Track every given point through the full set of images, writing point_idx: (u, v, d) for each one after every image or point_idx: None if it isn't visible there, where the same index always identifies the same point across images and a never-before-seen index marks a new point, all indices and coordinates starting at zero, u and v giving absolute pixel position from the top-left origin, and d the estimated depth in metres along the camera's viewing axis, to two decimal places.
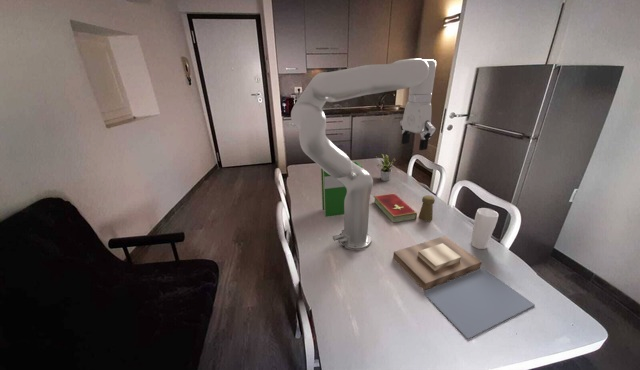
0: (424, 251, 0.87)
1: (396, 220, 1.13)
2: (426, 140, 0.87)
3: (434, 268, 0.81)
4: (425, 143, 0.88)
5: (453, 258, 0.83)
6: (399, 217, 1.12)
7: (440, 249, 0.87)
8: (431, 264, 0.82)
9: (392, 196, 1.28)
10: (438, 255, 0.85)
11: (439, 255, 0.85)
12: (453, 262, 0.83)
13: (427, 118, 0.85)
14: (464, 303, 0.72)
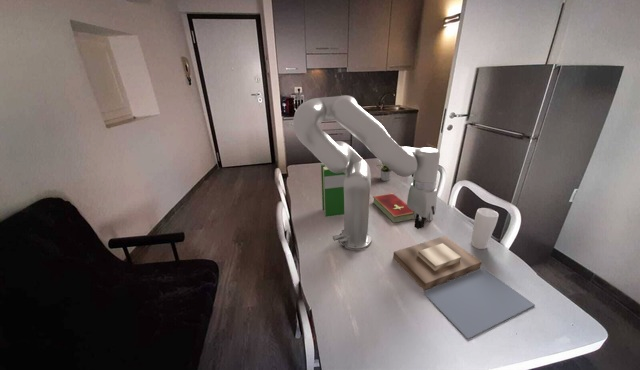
0: (424, 251, 0.87)
1: (396, 220, 1.13)
2: (423, 221, 0.91)
3: (434, 268, 0.81)
4: (422, 223, 0.91)
5: (453, 258, 0.83)
6: (400, 217, 1.12)
7: (440, 249, 0.87)
8: (431, 264, 0.82)
9: (391, 196, 1.28)
10: (438, 255, 0.85)
11: (439, 255, 0.85)
12: (453, 262, 0.83)
13: (432, 204, 0.84)
14: (464, 303, 0.72)
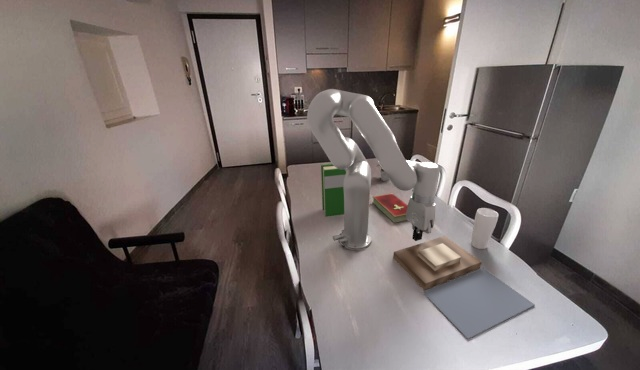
0: (424, 251, 0.87)
1: (397, 220, 1.12)
2: (421, 233, 0.92)
3: (434, 268, 0.81)
4: (420, 235, 0.93)
5: (453, 258, 0.83)
6: (400, 217, 1.12)
7: (440, 249, 0.87)
8: (431, 264, 0.82)
9: (391, 196, 1.28)
10: (438, 255, 0.85)
11: (439, 255, 0.85)
12: (453, 262, 0.83)
13: (431, 218, 0.86)
14: (464, 303, 0.72)
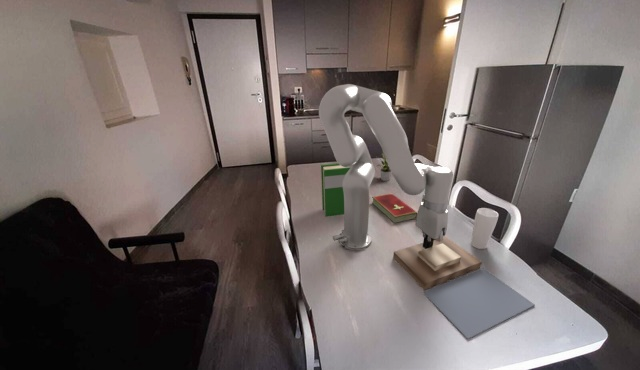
0: (424, 251, 0.87)
1: (397, 220, 1.12)
2: (432, 241, 0.88)
3: (434, 268, 0.81)
4: (431, 244, 0.88)
5: (453, 258, 0.83)
6: (400, 217, 1.12)
7: (440, 249, 0.87)
8: (431, 264, 0.82)
9: (390, 196, 1.28)
10: (438, 255, 0.85)
11: (439, 255, 0.85)
12: (453, 262, 0.83)
13: (443, 226, 0.81)
14: (464, 303, 0.72)
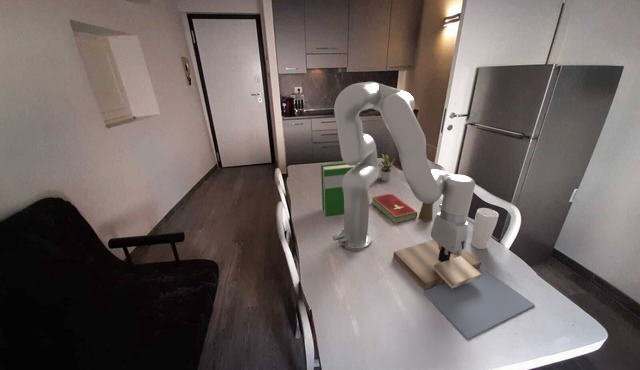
0: (441, 265, 0.80)
1: (397, 221, 1.12)
2: (448, 254, 0.81)
3: (451, 286, 0.75)
4: (447, 257, 0.82)
5: (473, 275, 0.77)
6: (400, 217, 1.12)
7: (458, 263, 0.81)
8: (448, 281, 0.75)
9: (390, 196, 1.28)
10: (456, 270, 0.78)
11: (457, 270, 0.78)
12: (472, 279, 0.77)
13: (463, 239, 0.75)
14: (464, 303, 0.72)
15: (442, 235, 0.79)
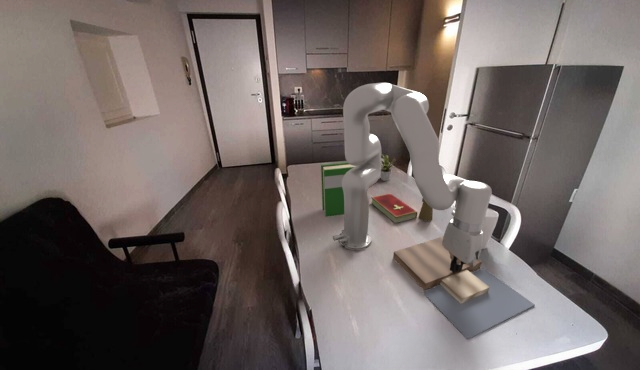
0: (447, 279, 0.78)
1: (398, 221, 1.12)
2: (461, 264, 0.77)
3: (460, 301, 0.72)
4: (460, 267, 0.78)
5: (481, 288, 0.74)
6: (401, 217, 1.12)
7: (465, 277, 0.79)
8: (456, 296, 0.73)
9: (389, 196, 1.28)
10: (463, 284, 0.76)
11: (465, 284, 0.76)
12: (481, 293, 0.74)
13: (477, 249, 0.70)
14: (464, 303, 0.72)
15: (455, 244, 0.74)
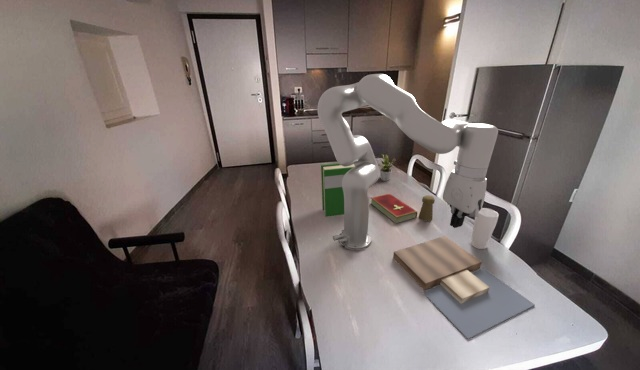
0: (447, 279, 0.78)
1: (398, 221, 1.12)
2: (462, 218, 0.73)
3: (460, 301, 0.72)
4: (461, 221, 0.73)
5: (481, 288, 0.74)
6: (401, 217, 1.12)
7: (465, 277, 0.79)
8: (456, 296, 0.73)
9: (388, 196, 1.28)
10: (463, 284, 0.76)
11: (465, 284, 0.76)
12: (481, 293, 0.74)
13: (480, 197, 0.66)
14: (464, 303, 0.72)
15: (456, 195, 0.70)
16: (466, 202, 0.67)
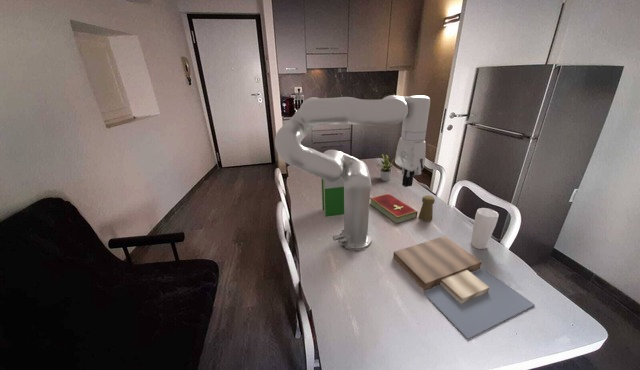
0: (447, 279, 0.78)
1: (399, 221, 1.12)
2: (411, 177, 0.87)
3: (460, 301, 0.72)
4: (410, 180, 0.87)
5: (481, 288, 0.74)
6: (402, 217, 1.12)
7: (465, 277, 0.79)
8: (456, 296, 0.73)
9: (388, 196, 1.28)
10: (463, 284, 0.76)
11: (465, 284, 0.76)
12: (481, 293, 0.74)
13: (421, 156, 0.80)
14: (464, 303, 0.72)
15: (403, 157, 0.84)
16: (410, 162, 0.81)
